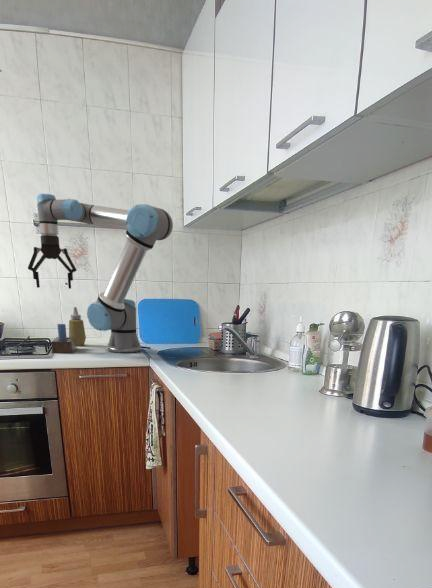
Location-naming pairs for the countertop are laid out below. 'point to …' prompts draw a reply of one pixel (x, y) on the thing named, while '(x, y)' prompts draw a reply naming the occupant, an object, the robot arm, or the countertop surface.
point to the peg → (62, 332)
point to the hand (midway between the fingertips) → (54, 288)
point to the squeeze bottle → (77, 328)
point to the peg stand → (64, 345)
